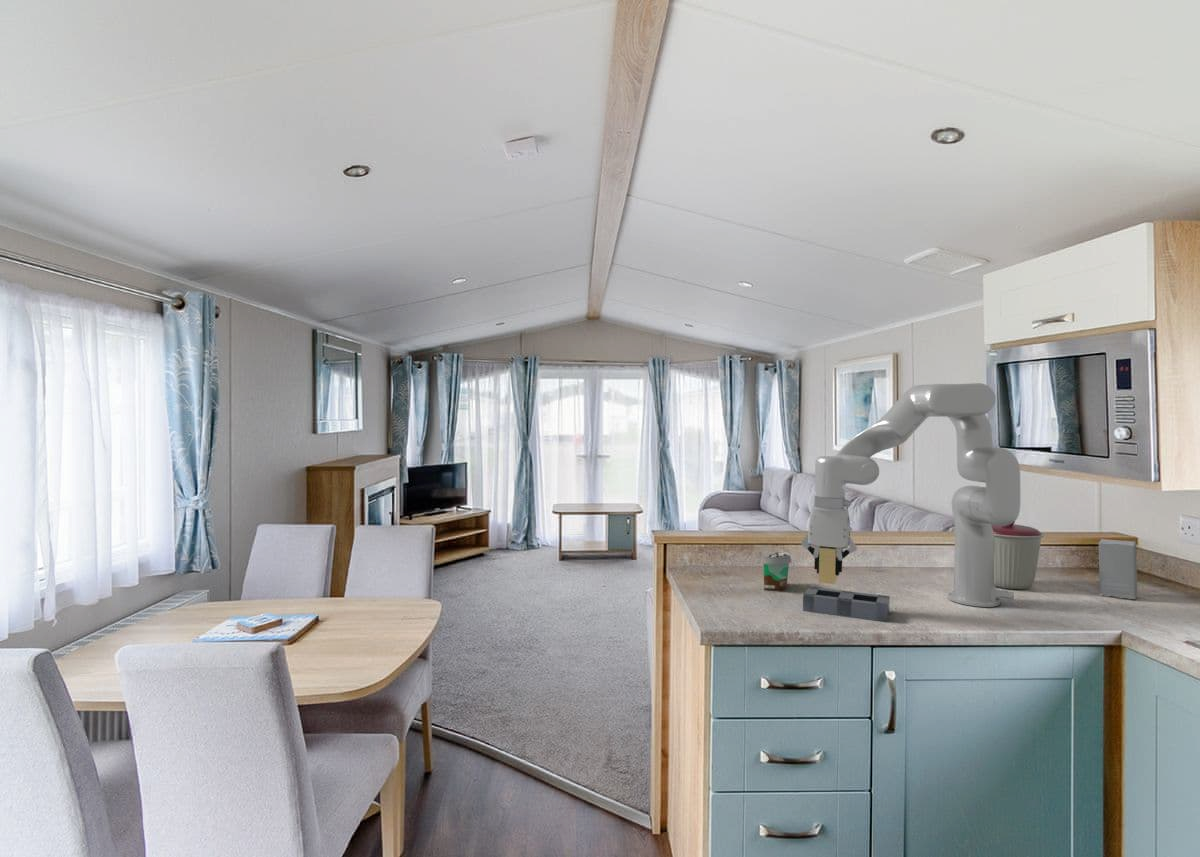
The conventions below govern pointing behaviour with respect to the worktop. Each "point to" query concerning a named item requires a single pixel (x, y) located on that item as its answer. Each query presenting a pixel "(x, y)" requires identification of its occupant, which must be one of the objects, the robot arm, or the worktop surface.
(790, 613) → the worktop surface
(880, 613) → the grey peg board
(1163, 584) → the worktop surface
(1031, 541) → the canister
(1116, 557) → the skincare box
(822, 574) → the brass peg
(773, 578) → the food container
